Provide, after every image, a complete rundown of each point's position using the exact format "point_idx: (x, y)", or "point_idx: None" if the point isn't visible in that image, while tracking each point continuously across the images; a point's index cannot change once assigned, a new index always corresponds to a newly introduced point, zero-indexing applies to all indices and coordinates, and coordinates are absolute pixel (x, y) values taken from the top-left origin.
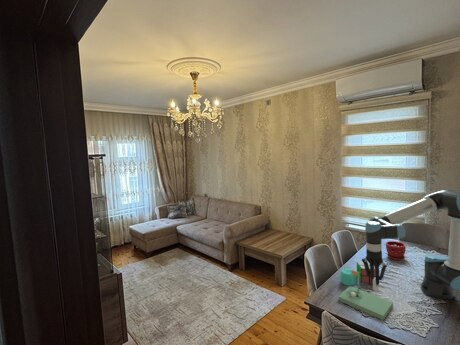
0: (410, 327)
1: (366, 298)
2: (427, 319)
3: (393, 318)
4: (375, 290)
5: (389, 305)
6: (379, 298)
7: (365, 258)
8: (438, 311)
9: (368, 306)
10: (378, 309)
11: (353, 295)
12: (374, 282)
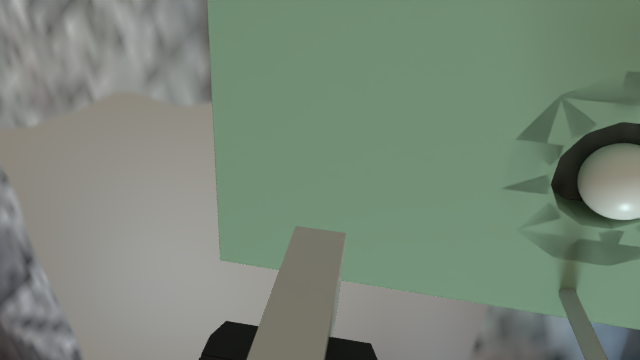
0: (22, 4)
1: (456, 187)
2: (8, 205)
3: (168, 47)
4: (302, 228)
5: (225, 192)
6: None
7: None
8: (16, 326)
9: (403, 27)
10: (287, 42)
11: (625, 159)
12: (278, 357)
